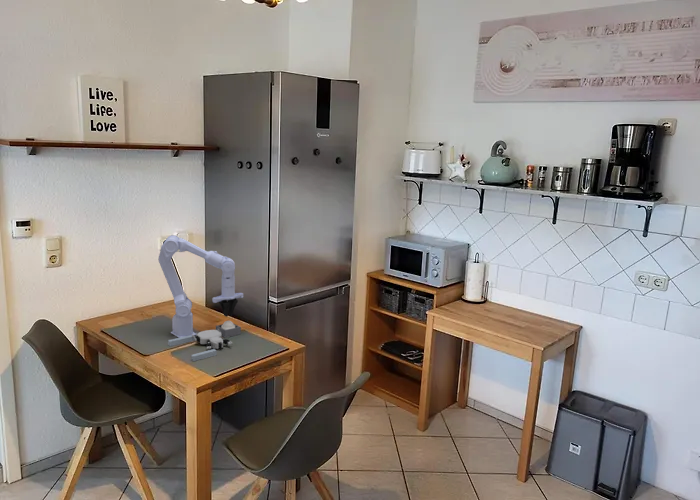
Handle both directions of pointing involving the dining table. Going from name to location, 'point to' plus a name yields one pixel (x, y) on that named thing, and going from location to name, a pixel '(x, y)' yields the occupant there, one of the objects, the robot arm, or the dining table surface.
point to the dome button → (228, 325)
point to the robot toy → (211, 339)
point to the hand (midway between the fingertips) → (228, 315)
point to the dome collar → (229, 331)
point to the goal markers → (194, 356)
